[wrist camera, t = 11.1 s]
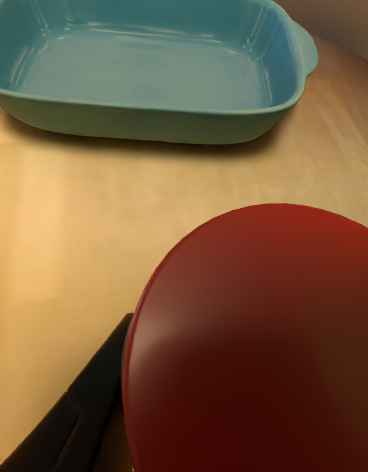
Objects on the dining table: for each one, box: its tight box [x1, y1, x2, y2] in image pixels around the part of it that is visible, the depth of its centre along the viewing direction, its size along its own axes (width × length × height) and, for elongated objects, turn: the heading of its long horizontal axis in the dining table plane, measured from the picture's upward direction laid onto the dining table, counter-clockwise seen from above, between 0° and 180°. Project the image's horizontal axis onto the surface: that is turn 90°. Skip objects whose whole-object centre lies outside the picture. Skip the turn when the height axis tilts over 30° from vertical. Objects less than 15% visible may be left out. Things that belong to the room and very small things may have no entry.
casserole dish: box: [0, 0, 318, 144], centre depth 29 cm, size 37×22×7 cm, turn 88°
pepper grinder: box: [121, 203, 368, 472], centre depth 8 cm, size 5×5×13 cm
